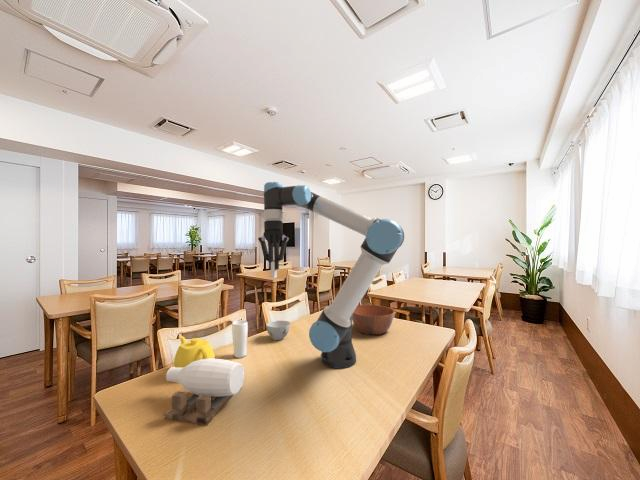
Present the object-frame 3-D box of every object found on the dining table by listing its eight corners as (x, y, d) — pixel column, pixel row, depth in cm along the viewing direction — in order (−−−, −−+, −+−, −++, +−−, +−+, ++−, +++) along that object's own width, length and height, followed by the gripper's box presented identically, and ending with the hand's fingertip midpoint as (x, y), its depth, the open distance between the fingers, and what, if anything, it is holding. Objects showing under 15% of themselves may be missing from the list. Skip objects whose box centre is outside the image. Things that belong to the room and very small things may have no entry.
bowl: (400, 338, 141) (399, 316, 141) (352, 338, 142) (352, 316, 142) (388, 323, 166) (388, 304, 166) (348, 323, 167) (347, 305, 167)
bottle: (226, 405, 79) (156, 398, 86) (246, 391, 90) (182, 385, 96) (227, 365, 81) (158, 361, 87) (246, 355, 91) (184, 352, 98)
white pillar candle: (243, 359, 118) (243, 325, 117) (229, 358, 119) (229, 324, 119) (250, 353, 124) (250, 320, 124) (237, 352, 125) (236, 319, 125)
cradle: (241, 388, 95) (241, 368, 95) (207, 425, 76) (207, 400, 76) (206, 383, 98) (206, 364, 98) (164, 418, 79) (164, 394, 79)
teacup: (295, 337, 143) (295, 322, 143) (277, 344, 134) (277, 328, 134) (276, 331, 153) (276, 317, 153) (258, 338, 143) (258, 323, 143)
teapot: (188, 385, 97) (188, 350, 97) (163, 369, 109) (163, 338, 109) (222, 370, 108) (222, 338, 108) (196, 357, 120) (196, 329, 120)
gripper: (291, 220, 114) (291, 276, 114) (262, 221, 117) (263, 276, 117) (285, 219, 106) (285, 279, 106) (254, 220, 109) (255, 278, 109)
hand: (274, 277), depth 112 cm, fingers closed
